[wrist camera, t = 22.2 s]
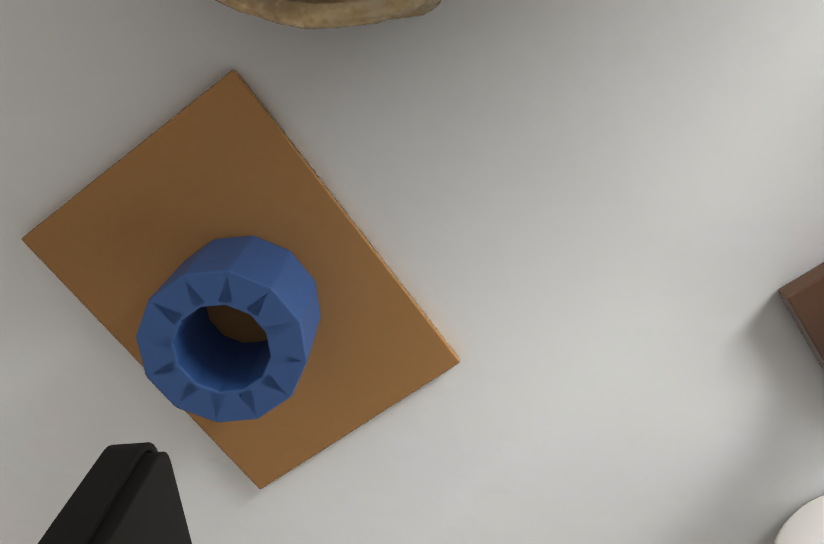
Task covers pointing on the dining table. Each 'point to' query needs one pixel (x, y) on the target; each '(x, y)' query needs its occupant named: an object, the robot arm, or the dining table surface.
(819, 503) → the mug
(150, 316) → the blue hollow cylinder
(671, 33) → the dining table surface
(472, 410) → the dining table surface
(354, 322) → the mat
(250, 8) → the bowl
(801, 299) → the dowel stand
